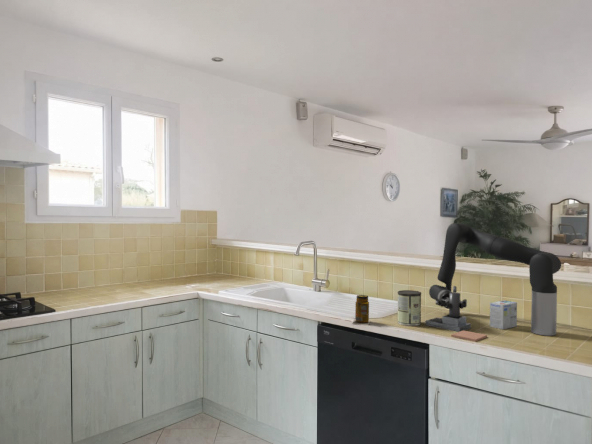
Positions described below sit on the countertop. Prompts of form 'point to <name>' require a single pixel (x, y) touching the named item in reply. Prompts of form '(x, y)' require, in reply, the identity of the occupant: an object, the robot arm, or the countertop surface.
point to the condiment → (362, 310)
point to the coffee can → (409, 307)
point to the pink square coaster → (469, 335)
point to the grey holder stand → (449, 323)
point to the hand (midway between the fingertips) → (456, 306)
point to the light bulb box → (503, 314)
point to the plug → (454, 303)
